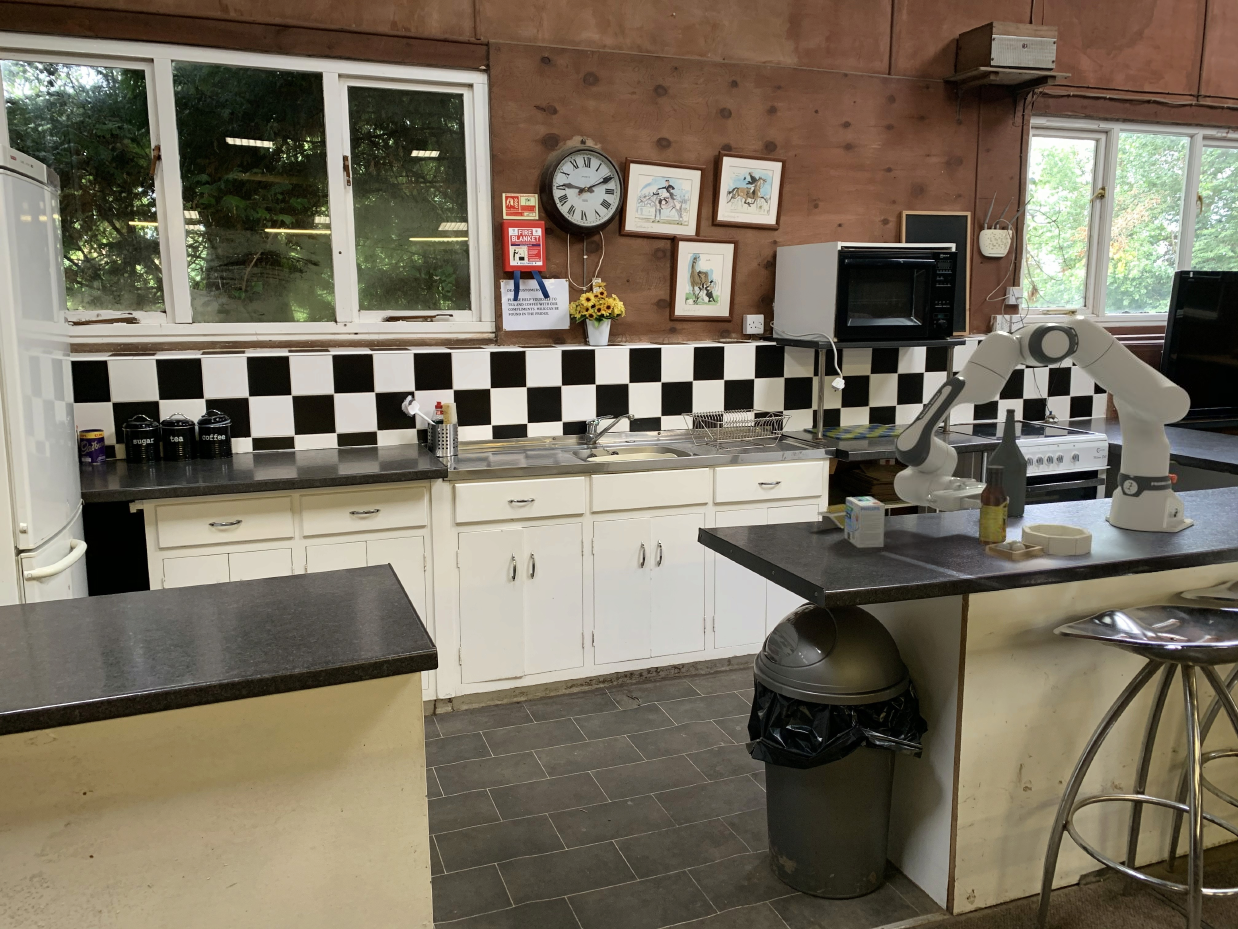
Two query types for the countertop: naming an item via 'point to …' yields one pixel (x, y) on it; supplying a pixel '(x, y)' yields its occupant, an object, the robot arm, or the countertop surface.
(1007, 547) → the pebble
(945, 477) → the robot arm
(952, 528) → the countertop surface
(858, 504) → the light bulb box
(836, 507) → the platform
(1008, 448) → the bottle
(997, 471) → the sauce bottle
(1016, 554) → the pebble tray
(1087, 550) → the bowl
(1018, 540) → the pebble
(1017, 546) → the pebble
